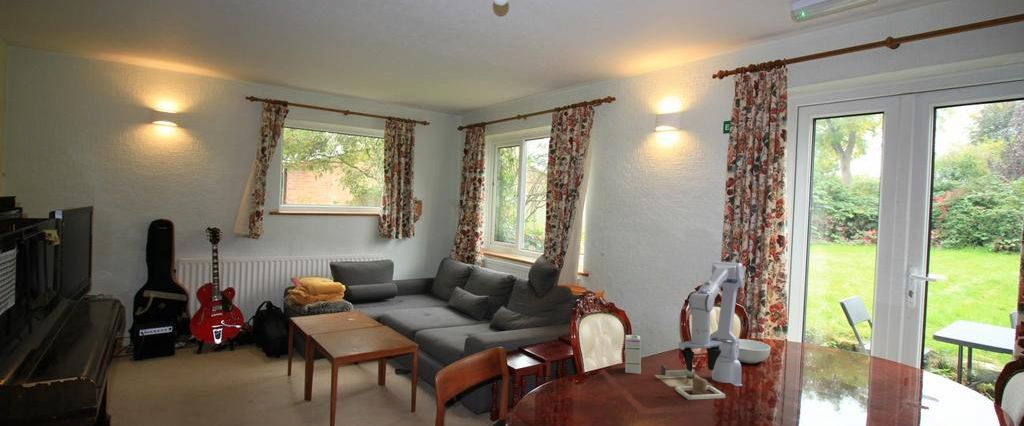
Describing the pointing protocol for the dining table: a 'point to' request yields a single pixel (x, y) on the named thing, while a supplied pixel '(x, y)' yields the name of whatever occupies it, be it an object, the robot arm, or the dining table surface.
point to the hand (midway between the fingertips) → (700, 370)
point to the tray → (707, 396)
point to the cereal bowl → (752, 351)
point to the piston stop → (699, 386)
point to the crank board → (678, 380)
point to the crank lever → (676, 372)
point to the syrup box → (632, 354)
